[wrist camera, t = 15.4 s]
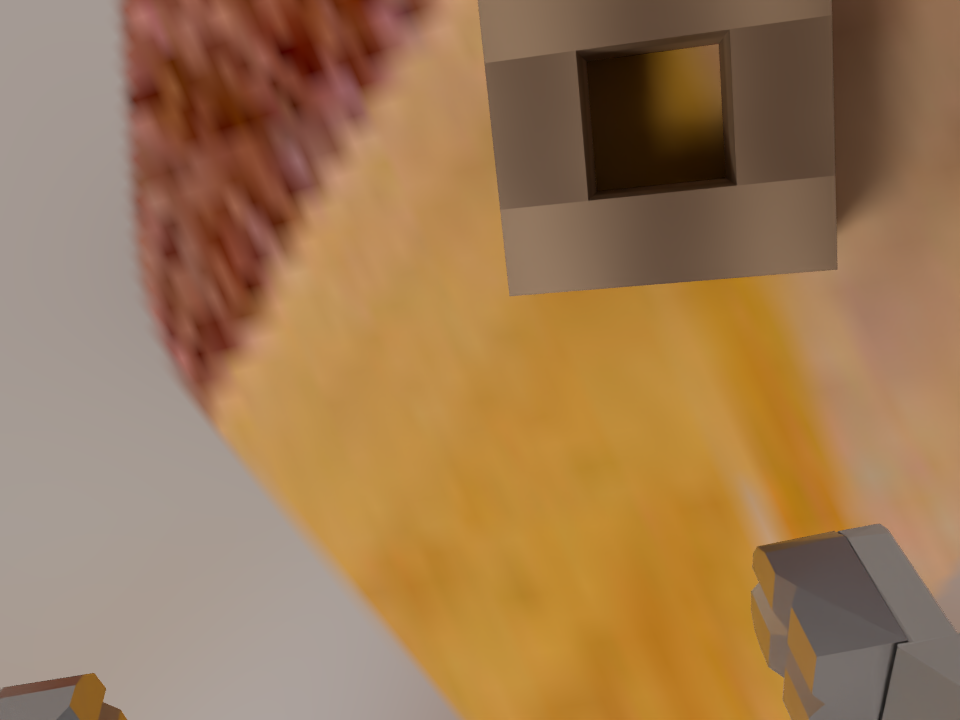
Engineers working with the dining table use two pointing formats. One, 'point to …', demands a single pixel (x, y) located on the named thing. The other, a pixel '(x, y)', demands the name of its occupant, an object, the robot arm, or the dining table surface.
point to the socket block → (669, 207)
